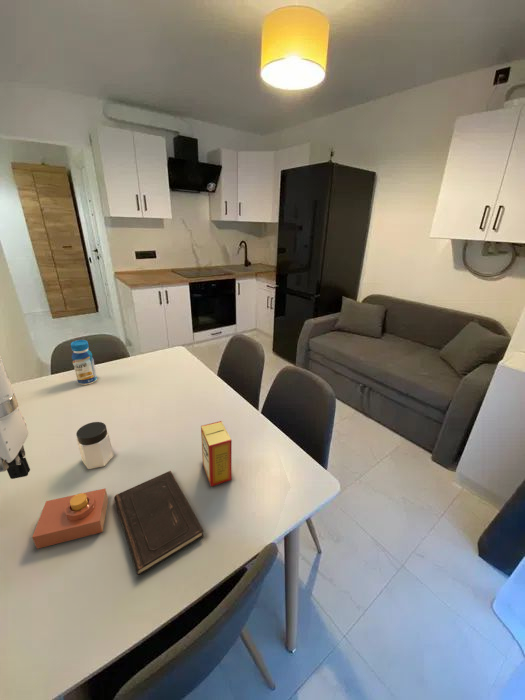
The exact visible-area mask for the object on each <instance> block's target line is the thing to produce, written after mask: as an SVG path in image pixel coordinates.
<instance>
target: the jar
mask: <svg viewBox="0 0 525 700" xmlns="http://www.w3.org/2000/svg"><path fill="white" fill-rule="evenodd" d="M76 442H77V446H78V450H79V453H80V457H81V460H82V463H83V464H84V465H85V467H86V468H87V469H88V470H92V469H96V468H103V467H105V466H106V465H107V464H108V463H109V462H110V461H111V460H112V458H113V457H114V452H113V447H112V442H111V437H110V434H109V432H108V429H107V425H106V423H104V422H102V421H93V422H89V423H86V424H83V425H81V427H80V428H79V429H77V431H76Z"/></svg>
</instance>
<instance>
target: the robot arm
mask: <svg viewBox="0 0 525 700" xmlns="http://www.w3.org/2000/svg"><path fill="white" fill-rule="evenodd" d="M28 436H29V428H28V425H27V422H26V420H25V418H24V416H23V414H22V411H21V409H20V405H19V402H18V400H17V397H16V394H15V392H14V389H13V386H12V383H11V380H10V378H9V376H8V372H7V370H6V367H5V364H4V361H3V359H2V356H1V355H0V473H3V472H6V471H7V474H8V476H9V479H11V480H13V479H14V480H15V479H20V478H25V477H27V476H28V475H29V473H30V471H31V468H30V464H29V462H28V460H27V457H26V451H25V446H24V444H25V443H26V441H27V439H28Z"/></svg>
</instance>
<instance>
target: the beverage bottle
mask: <svg viewBox="0 0 525 700" xmlns="http://www.w3.org/2000/svg"><path fill="white" fill-rule="evenodd" d="M70 348H71V351H72V354H71V359H72V365H73V368H74V372H75V375H76V376H75V377H76V381H77V384H79V385H82V386H83V385H85V386H87V385H91V384H93V383H95V382H96V381H97V380H98V376H97V371H96V365H95V360H94V357H93V353H92V351H91V350H90V349H89V348H90V346H89V342H88V340H86V339H77V340H74V341H72V342H71V343H70Z"/></svg>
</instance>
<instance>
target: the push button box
mask: <svg viewBox="0 0 525 700" xmlns="http://www.w3.org/2000/svg"><path fill="white" fill-rule="evenodd" d="M83 493H84V494H86V496H87V500H88V504H87V506H86V507H85V508H83V509H81V510H79V511H73V510H72V508H71V505H70V500H71V498H72V497H74V496H75V495H76V494H73V495H67V496H62V497H58V498H54V499H53V498H52V499H49V500H46V501H45V503H44V506H43V508H42V510H41V513H40V516H39V518H38V521H37V524H36V526H35V529H34V531H33V534H32V537H31V539H32V541H33V543H34V545H35V548H36V549H41V548H42V549H43V548H46V547H50V546H52V545H53V546H54V545H57V544H58V545H59V544H62V543H66V542H69V541H72V540H77V539H81V538H85V537H89V536H93V535H97V534H101V533H103V531H104V526H105V520H106V519H105V518H106V513H107V508H108V504H109V503H108V502H109V496H108V493H107V488H106V487H105V488H100V489H95V490H91V491H87V492H83Z"/></svg>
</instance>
